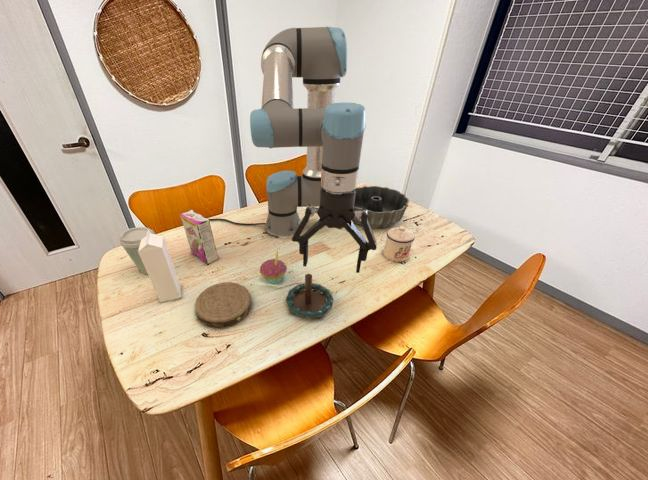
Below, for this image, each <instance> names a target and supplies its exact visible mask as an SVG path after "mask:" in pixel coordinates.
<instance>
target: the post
mask: <svg viewBox="0 0 648 480" xmlns="http://www.w3.org/2000/svg"><path fill="white" fill-rule="evenodd" d="M304 283H305V289H304V290H300V291H298V292H297V293H295V294H294V296H293V299H292V301H293V304H294V305H295V306H296V307H297V308H299V309H300V310H304V311H309V312H312V311H316V310H320V309H322V308H323V307H324V306H325V305H324V304H325V298H326V296H325V294H323V293H322V292H315V291H313V289H312V283H313V275H312V273H306V274H305V275H304ZM289 314H290V315H296V314H295V313H293V312H292V311H291V310H289ZM315 319H322V316H320V317H315Z"/></svg>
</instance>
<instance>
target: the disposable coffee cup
mask: <svg viewBox="0 0 648 480" xmlns="http://www.w3.org/2000/svg"><path fill="white" fill-rule="evenodd" d="M148 229H149V231H150V233H152V234H155V235H156V233H155V232H154V230H153V229H151V228H149V227H146V226H136V227H129V228H127V229H125V230H123V231H122V232H120V233H119V234H118V235H119V239H118V241H119V245H120V246H121V247H122V248H123V249H124V250H125V253H126V254H127V255H128V257H129V258H130V259H131V261H132V262H133V263H134V266H136V268H137V269H138V271H139V272H141V273H142V274H144V275H148V273H147V271H146V269H145V266H144V264H143V262H142V260H141V257H140V255H139V253H138V250H139V246H140V242H141V240H142V239H143V238H144V237H146V235H147V231H148Z"/></svg>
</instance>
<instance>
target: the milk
mask: <svg viewBox="0 0 648 480" xmlns="http://www.w3.org/2000/svg"><path fill="white" fill-rule="evenodd" d="M149 229H150V228H149ZM149 229H148V231H147V235H146V237H144V238H143V239H142V240H141V242H140V246H139V250H138V253H139V255H140V257H141V260H142V262H143V264H144V266H145V269H146V271H147V273H148V274H147V275H148V278H149V281H150V282H151V285H152V287H153V289H154V291H155V294H156V296H157V298H158V301H159V303H164V302H169V301H175V300H179V299H181V297H182V285H181V282H180V280H179V277H178V273H177V271H176V268H175V266H174V262H173V260H172V256H171V254H170V251H169V248H168V246H167V243H166V240H165V238H164V236H162V235H159V234H156V233H155V234H152V233H150V231H149Z"/></svg>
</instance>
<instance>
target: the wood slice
mask: <svg viewBox="0 0 648 480" xmlns="http://www.w3.org/2000/svg"><path fill="white" fill-rule="evenodd" d="M194 310H195V313H196V316H197V319H198V320H199V322H200V323H201V324H202V325H204V326H206V327H207V328H212V329H227V328H230V327H234V326H236V325H237V324H239V323H241V322H243V321H244V320H245V319H246V318H247V317H248V316H249V314H250V312H251V310H252V297H251V294H250V291H249V290H248V288H246V286H244V285H243V284H240V283H238V282H232V281H229V282H228V281H227V282H226V281H225V282H224V281H223V282H218V283H216V284H213V285H210V286H209V287H207V288H205V289H204V290H203V291H201V292H200V293H199V295H198V296H197V297H196V299H195V302H194Z"/></svg>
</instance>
